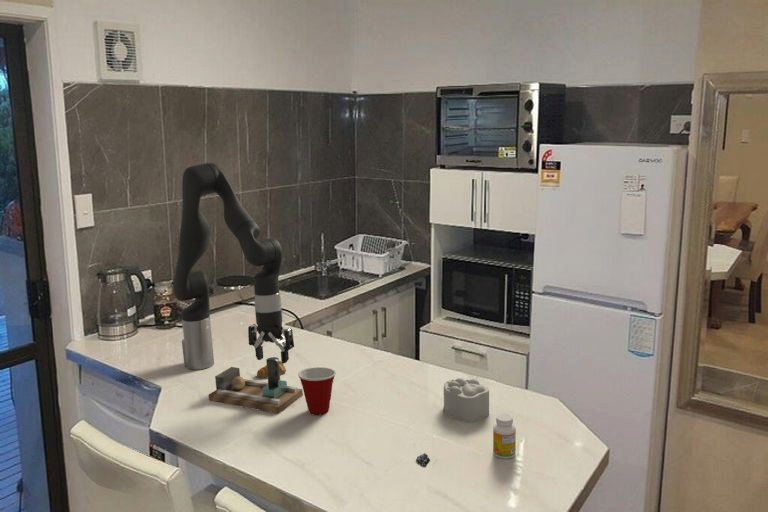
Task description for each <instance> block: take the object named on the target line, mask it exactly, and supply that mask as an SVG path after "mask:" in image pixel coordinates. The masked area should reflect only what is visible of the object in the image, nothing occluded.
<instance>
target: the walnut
mask: <svg viewBox="0 0 768 512" xmlns="http://www.w3.org/2000/svg"><path fill="white" fill-rule="evenodd" d="M244 379H245V378H244V377H243V376H241V375H240V376H237V377H235V378H234V379H233V380H232V386H233V388H234V389H237V390H239V389H242V388H243V387H244V385H245V380H244Z"/></svg>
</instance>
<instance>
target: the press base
mask: <svg viewBox="0 0 768 512" xmlns="http://www.w3.org/2000/svg"><path fill="white" fill-rule="evenodd" d="M240 372H241V371H240V368H239V367H235V366H231V367H228V368H227V369H225V370H223V371H222V372H220V373H219V374H216V375H215V377H214V379H215V380H214V381H215V388H216V389H215V390H214V391H212V392H211V393H209V394H208V401H209V402H215V403H220V404H225V405H230V406H237V407H241V406H242V408H246V407H247V408H246V409H252V408H253V410H257V409H258V410H257V411H264V412H267V413H269V412H270V413H274V414H281V413H282V412H283V411H284V410H286V409H288V407H290V406H291V405H293V403H295V402H296V401H297V400H299V399H300V398H302V397H303V396H304V391H303V388H298V387H296V386H290V385H287V391H286V392H285V393H283V394H282V395H280V396H279V397H278V398H276V399H274V398H268V397H263V394H262V388H264V387H265V386H267V385H268V382H266V381H265V382H264V381H259V380H254V379H253V380H252V379H248V378H247V379H246V378H243V379H244V380H245V385H244V387H243V388H242V389H239V390H237V389H234V388H233V386H232V380H233V379H234V378H235V377H237V376H240V377H241V373H240Z"/></svg>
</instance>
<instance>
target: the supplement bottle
mask: <svg viewBox="0 0 768 512" xmlns="http://www.w3.org/2000/svg"><path fill="white" fill-rule="evenodd" d="M513 422H514V417H513V416H512V415H511V414H508V413H499V414H497V415H496V417H495V423H494V424H493V428H492V429H493V430H492V431H493V432H492V433H493V435H492V439H493V440H492V442H493V445H492V446H493V447H492V450H493V455H494V456H495V457H497V458H499V459H503V460H505V459H506V460H507V459H511V458H514V457H515V456H516V451H517V449H516V448H517V447H516V446H517V445H516V443H517V442H516V438H517V437H516V434H517V433H516V426H515V424H513Z"/></svg>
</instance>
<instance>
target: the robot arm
mask: <svg viewBox="0 0 768 512" xmlns="http://www.w3.org/2000/svg"><path fill="white" fill-rule="evenodd" d="M181 185H182V192H181V193H182V211H181V223H180V230H179V241H178V254H177V262H176V266H175V272H174V275H173V283H172V285H173V286H172V287H173V288H172V290H173V293H174V296H175V299H176V300H178V301H190V300H194V301H193V302H192V303H191V304H189V306H187V307H185V308H183V309H182V311H181V315H180V317H181V324H182V334H183V339H182V340H181V346H182V355H183V357H182V358H183V363H184V364H183V365H184V367H186V368H187V369H189V370H195V371H196V370H204V369H208V368H210V367H213V366H214V364H215V359H214V358H215V357H214V345H213V337H212V335H213V334H212V326H211V315H210V314H211V313H210V310H211V308H210V288H209V287H210V286H209V278H208V276H207V274H206V273H205V272H204V271H203V270H193V271H192V269H193V268H194V266H195V265H196V264H197V263H198V262H199V260H201V258H202V257H203V256H204V254H206V252H207V250H208V248H209V245H210V238H211V230H212V229H211V226H210V223H209V221H208V220H207V218H206V217H205V215H204V214H203V213H202V211H201V209H200V200H201V198H202V197H203V196H204V197H205V196H208V195H212V194H216V195H218V196H219V197H220V198H221V201H222V203H223V219H224V222H225V225H226V226H227V228H228V229H229V231H230V232H231V233H232V234H233V235H234V237H235V238H236V239H237V240H238V242H239V246H240V248H241V250H242V252H243V255H244V258H245V260H246V261H247V263H249V264H250V265H251V266H254V267H261V266H262V268H261V270H260V271H259V272H257V273H256V274H255V275H254V276H253V288H254V289H253V291H254V313H255V323H254V324H250V325H249V326H247V332H248V345H249V346H253V348H254V351H255V352H254V353H255V358H256V360H258V361H261V360H262V359H264V349H263V348H264V347H263V344H264V343H268V342H269V343H273V344H275V345H276V346H277V347H278V348H279V349H280V350H281V351H280V361H281V362H282V363H283V364H286V363H288V361H289V359H290V358H289V357H290V356H289V351H290V350H291V349H294V348H295V342H294V334H293V329H292V327H288V328H284V327H283V311H282V310H283V309H282V299H281V294H280V284H279V283H280V282H279V277H280V271H281V267H282V260H283V248H282V246H281V243H280V242H279V241H278V240H277V239H276V238H274V237H273V238H266V239H259V240H257V239H258V238H259V237H260V234H261V229H260V226H259V225H258V224H257V222H256V221H255V220H254V219H253V218H252V217H251V215H250V214H249V213H248V212H247V210H246V209H245V208H244V206H243V205H242V203H241V201H240V199H239V198H238V196H237V194H236V193H235V191H234V189H233V187H232V185H231V183H230V181H229V180H228V178H227V176H226V175H225V173H224V172H223V171H222V169H221V167H220V166H218V164H216V163H213V162H207V163H200V164H196V165H190V166H189V167H187V168H185V169H184V172H183V174H182V184H181ZM257 333H258V336H257Z"/></svg>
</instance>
